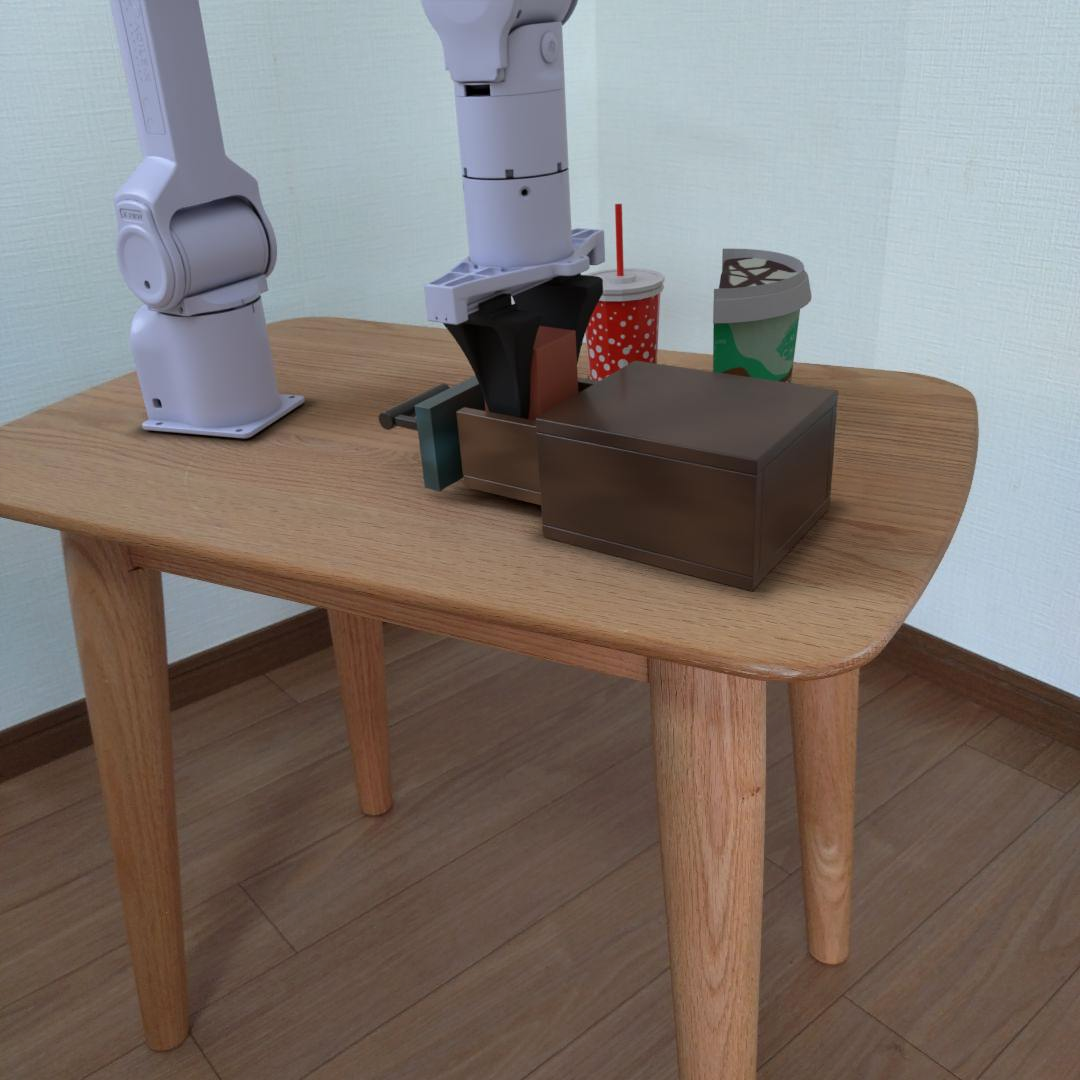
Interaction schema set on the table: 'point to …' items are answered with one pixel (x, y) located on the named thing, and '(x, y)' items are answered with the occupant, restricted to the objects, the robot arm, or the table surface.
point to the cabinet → (688, 469)
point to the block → (552, 370)
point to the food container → (758, 313)
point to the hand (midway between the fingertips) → (532, 411)
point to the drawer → (471, 441)
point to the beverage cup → (624, 315)
